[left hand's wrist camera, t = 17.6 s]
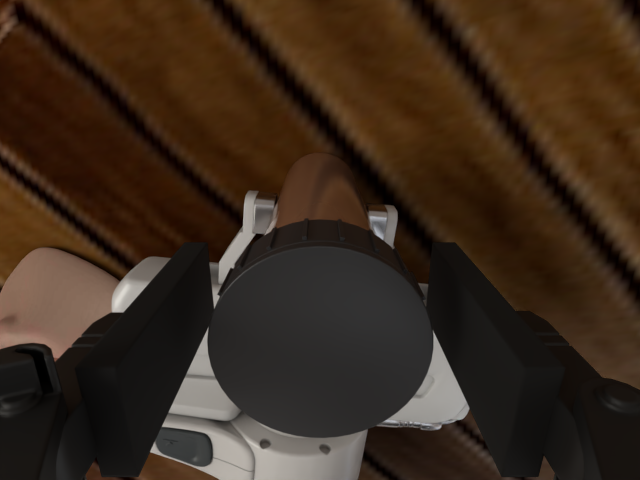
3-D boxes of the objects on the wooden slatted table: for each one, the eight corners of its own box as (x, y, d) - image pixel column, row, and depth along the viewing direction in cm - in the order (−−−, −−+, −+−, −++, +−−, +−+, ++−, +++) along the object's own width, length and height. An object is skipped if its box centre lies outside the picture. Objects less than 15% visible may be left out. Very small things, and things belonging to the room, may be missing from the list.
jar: (333, 138, 26) (357, 223, 10) (368, 201, 27) (438, 366, 11) (270, 175, 27) (194, 310, 10) (307, 234, 28) (290, 433, 12)
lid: (192, 248, 11) (167, 281, 9) (392, 191, 11) (408, 214, 9) (261, 405, 13) (251, 459, 11) (434, 363, 13) (454, 412, 11)
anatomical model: (-48, 255, 24) (147, 306, 25) (1, 233, 28) (170, 278, 29) (-48, 424, 28) (119, 461, 30) (-5, 385, 32) (141, 419, 33)
